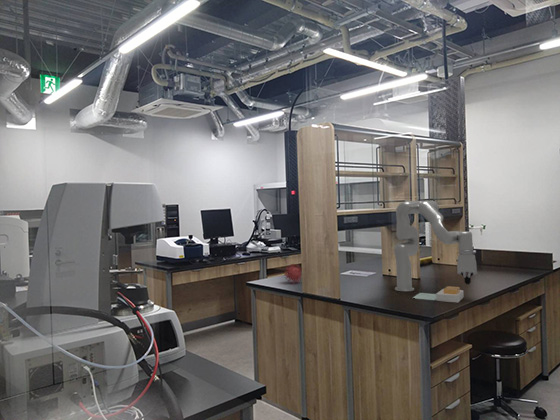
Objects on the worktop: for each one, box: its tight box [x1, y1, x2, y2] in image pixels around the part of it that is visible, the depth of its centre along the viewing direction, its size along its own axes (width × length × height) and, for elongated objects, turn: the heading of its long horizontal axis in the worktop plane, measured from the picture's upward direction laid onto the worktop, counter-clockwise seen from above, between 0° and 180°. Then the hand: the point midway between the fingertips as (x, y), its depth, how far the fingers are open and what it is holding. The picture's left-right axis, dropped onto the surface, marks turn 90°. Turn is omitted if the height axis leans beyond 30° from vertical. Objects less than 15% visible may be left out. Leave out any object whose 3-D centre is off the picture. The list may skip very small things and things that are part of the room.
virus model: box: [284, 263, 302, 283], centre depth 316 cm, size 15×15×15 cm
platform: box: [435, 288, 465, 303], centre depth 247 cm, size 16×12×4 cm
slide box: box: [443, 285, 461, 294], centre depth 246 cm, size 10×7×2 cm
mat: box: [412, 292, 437, 301], centre depth 255 cm, size 16×13×1 cm
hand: (467, 284), depth 241 cm, fingers closed
